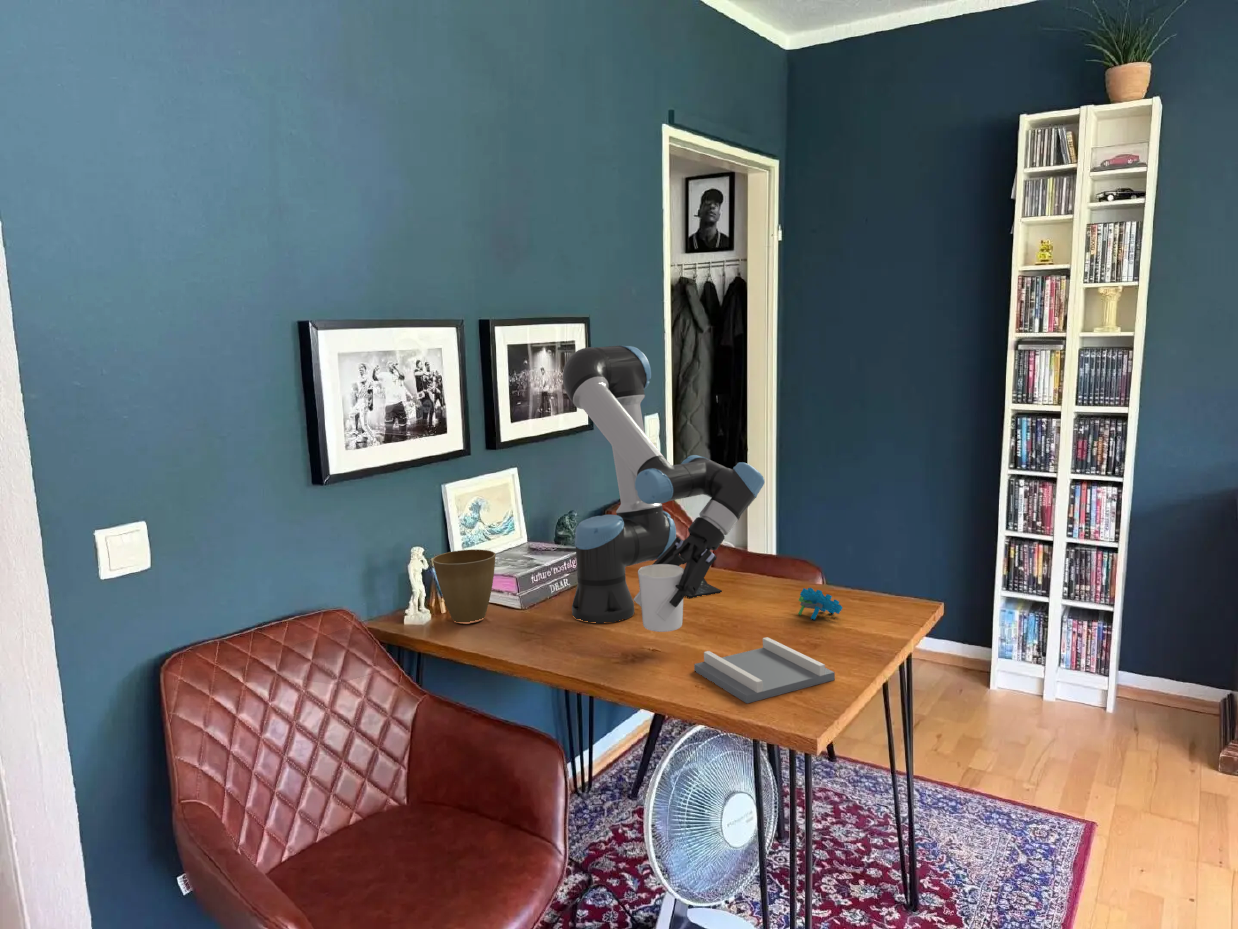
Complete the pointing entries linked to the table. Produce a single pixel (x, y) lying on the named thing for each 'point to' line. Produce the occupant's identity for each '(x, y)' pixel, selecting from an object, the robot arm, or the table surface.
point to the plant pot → (466, 582)
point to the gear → (818, 602)
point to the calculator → (705, 590)
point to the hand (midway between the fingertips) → (648, 610)
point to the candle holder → (659, 595)
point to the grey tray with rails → (763, 671)
